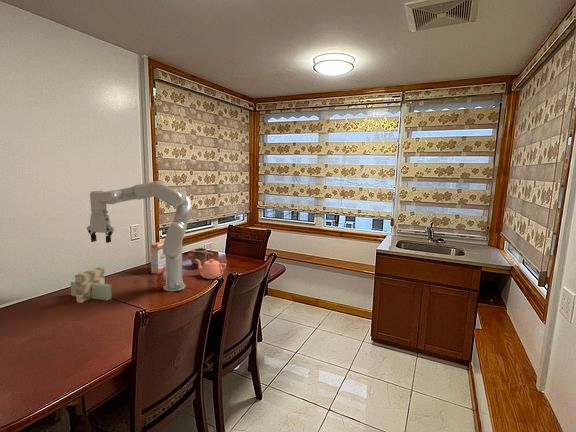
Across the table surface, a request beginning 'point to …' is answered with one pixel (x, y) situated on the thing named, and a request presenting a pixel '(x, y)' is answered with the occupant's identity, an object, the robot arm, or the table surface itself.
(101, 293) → the slotted base
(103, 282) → the maple plate
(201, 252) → the decorative planter
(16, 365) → the table surface
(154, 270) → the cracker box
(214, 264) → the teapot
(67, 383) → the table surface
